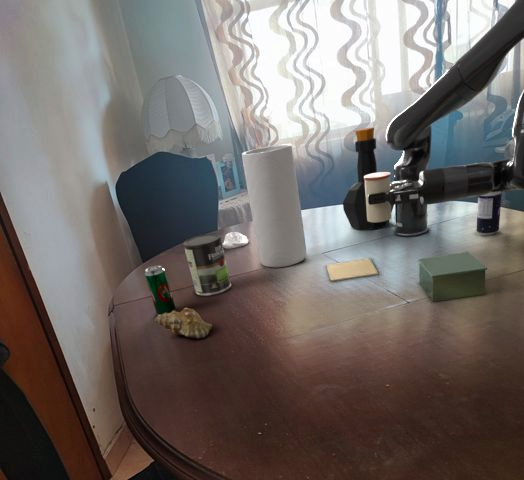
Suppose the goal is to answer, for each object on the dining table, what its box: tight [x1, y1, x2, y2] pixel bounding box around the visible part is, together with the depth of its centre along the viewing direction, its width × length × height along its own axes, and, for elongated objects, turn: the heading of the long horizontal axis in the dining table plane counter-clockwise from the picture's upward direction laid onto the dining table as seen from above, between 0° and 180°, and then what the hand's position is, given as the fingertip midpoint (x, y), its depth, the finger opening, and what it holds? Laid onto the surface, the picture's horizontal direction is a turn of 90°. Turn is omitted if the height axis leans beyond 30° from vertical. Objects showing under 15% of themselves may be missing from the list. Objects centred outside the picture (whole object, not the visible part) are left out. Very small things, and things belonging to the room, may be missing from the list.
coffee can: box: [182, 233, 232, 297], centre depth 126 cm, size 10×10×14 cm
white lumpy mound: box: [222, 231, 249, 249], centre depth 163 cm, size 10×4×10 cm
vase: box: [241, 143, 307, 269], centre depth 132 cm, size 14×14×32 cm
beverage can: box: [475, 191, 503, 236], centre depth 127 cm, size 6×6×12 cm
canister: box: [364, 171, 393, 222], centre depth 107 cm, size 6×6×10 cm
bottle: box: [342, 126, 395, 231], centre depth 150 cm, size 16×16×30 cm
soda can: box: [144, 264, 177, 315], centre depth 117 cm, size 5×5×12 cm
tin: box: [417, 251, 488, 303], centre depth 101 cm, size 11×11×6 cm
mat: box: [326, 258, 379, 282], centre depth 123 cm, size 12×12×1 cm
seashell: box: [154, 307, 213, 339], centre depth 105 cm, size 9×8×10 cm
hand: (367, 196), depth 107 cm, fingers closed on canister, 5 cm apart
